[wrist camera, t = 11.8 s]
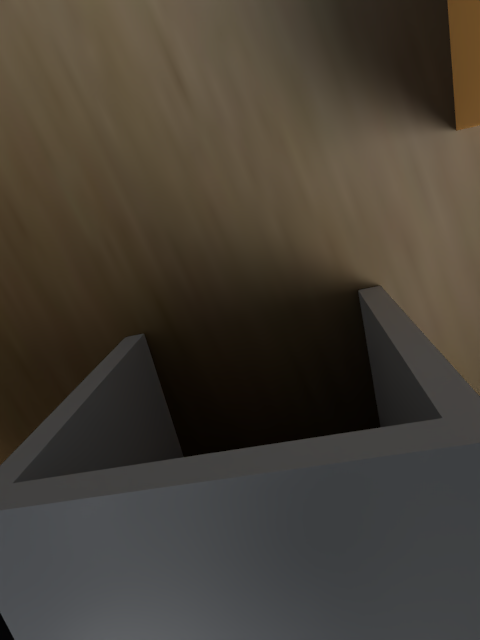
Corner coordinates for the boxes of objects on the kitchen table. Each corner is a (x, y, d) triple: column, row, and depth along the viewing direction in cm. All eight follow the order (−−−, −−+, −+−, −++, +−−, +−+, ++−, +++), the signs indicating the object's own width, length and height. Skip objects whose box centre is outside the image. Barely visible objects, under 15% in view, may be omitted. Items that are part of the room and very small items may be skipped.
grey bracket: (413, 507, 12) (539, 828, 6) (191, 534, 13) (116, 831, 7) (380, 285, 10) (517, 437, 4) (125, 337, 11) (-50, 517, 5)
